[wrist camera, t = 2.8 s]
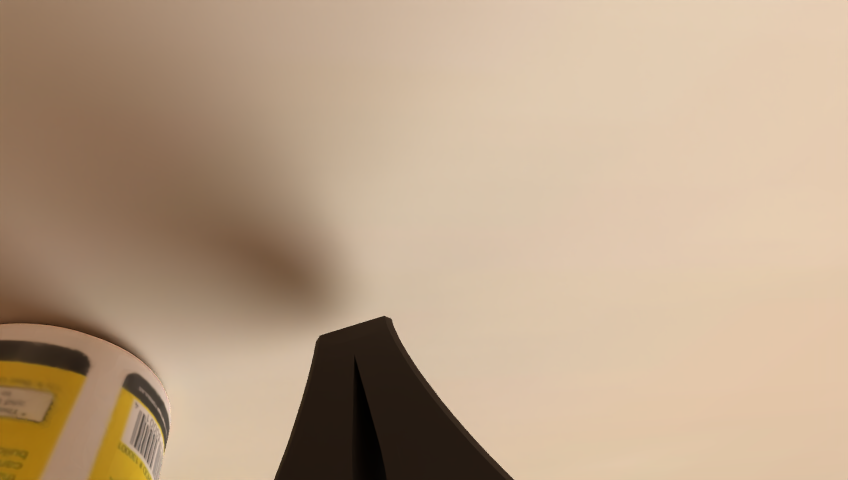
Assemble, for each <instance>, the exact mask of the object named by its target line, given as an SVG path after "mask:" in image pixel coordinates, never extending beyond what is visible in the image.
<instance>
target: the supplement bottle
mask: <svg viewBox="0 0 848 480" xmlns="http://www.w3.org/2000/svg"><path fill="white" fill-rule="evenodd" d="M170 423H171V409H170V403H169V399H168V396H167V393H166V391H165V389H164V387H163V385H162V383H161V382H160V380H159V379H158V377H157V376H156V375H155V374H154V373H153V371H152V370H151V369H150V368H149V367H148V366H147V365H145V364H144V363H143V362H142V361H141V360H140V359H138V358H137V357H135V356H134V355H132V354H131V353H129V352H128V351H126V350H124V349H122V348H120V347H118V346H116V345H114V344H112V343H110V342H107V341H105V340H102V339H100V338H97V337H94V336H91V335H88V334H85V333H82V332H79V331H75V330H71V329H67V328H62V327H57V326H51V325H42V324H29V323H13V324H0V480H159V476H160V470H161V466H162V461H163V456H164V452H165V448H166V443H167V439H168V435H169V429H170Z"/></svg>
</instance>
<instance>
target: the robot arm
mask: <svg viewBox="0 0 848 480" xmlns="http://www.w3.org/2000/svg"><path fill="white" fill-rule="evenodd" d="M274 480H514V479H513V478H512V477H511V476H510V475H509V474H508V473H507V472H506V471H505V470H504V469H503V468H502V467H501V466H500V465H499V464H498V463H497V462H496V461H495V460H494V459H493V458H492V457H491V456H490V455H489V454H488V453H487V452H486V451H485V450H484V449H483V448H482V447H481V446H480V445H479V443H478V442H477V441H476V440H475V439H474V438H473V437H472V436H471V435H470V434H469V432H468V431H467V430H466V429H465V428H464V427H463V426H462V424H461V423H460V422H459V421H458V420H457V419H456V417H455V416H454V415H453V414H452V413H451V412H450V410H449V409H448V408H447V407H446V405H445V404H444V403H443V402H442V401H441V399H440V398H439V397H438V395H437V394H436V393H435V391H434V390H433V389H432V387H431V386H430V385H429V383H428V382H427V381H426V379H425V378H424V377H423V375H422V374H421V373H420V371H419V370H418V368H417V367H416V365H415V364H414V362H413V361H412V359H411V358H410V356H409V354H408V353H407V351H406V350H405V348H404V346H403V344H402V343H401V341H400V339H399V337H398V335H397V333H396V330H395V328H394V326H393V323H392V319H390V318H388V317H386V316H382V317H379V318H376V319H372V320H369V321H366V322H363V323H359V324H356V325H353V326H350V327H346V328H343V329H340V330H337V331H333V332H330V333H327V334H324V335H320V337H319V338H318V340H317V341H316V345H315V350H314V355H313V359H312V364H311V368H310V372H309V376H308V380H307V383H306V387H305V390H304V394H303V398H302V401H301V404H300V407H299V410H298V413H297V417H296V420H295V423H294V426H293V429H292V432H291V435H290V438H289V441H288V444H287V447H286V450H285V452H284V455H283V458H282V460H281V463H280V465H279V468H278V471H277V473H276V476H275V479H274Z"/></svg>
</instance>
